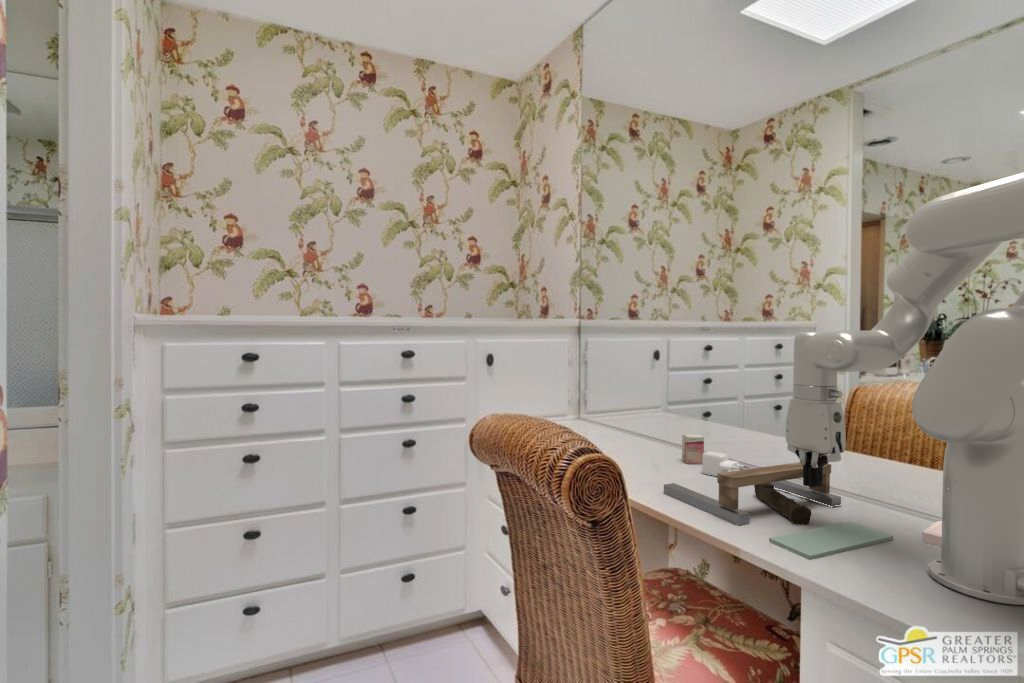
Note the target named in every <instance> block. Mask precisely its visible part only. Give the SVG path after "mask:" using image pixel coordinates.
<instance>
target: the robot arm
mask: <svg viewBox="0 0 1024 683" xmlns="http://www.w3.org/2000/svg"><path fill="white" fill-rule="evenodd" d="M905 232H906V239H907V242H908V243H909V244H910V245H911V247H912V249H910V251H909V252H908V253H907V254H906V256H904V258H903V259H901V261H900V262H899V263H898V264H897V265H896V267H894V268H893V270H892V271H891V272H890V273H889V274H888V275H887V277H886V284H887V287H888V289H889V290H890V292H892V293H893V301H892V304H891V307H890V309H889V310H888V311H887V313H886V314H885V315H884V316H883V317H882V318H881V319H880V320H879V322H877V323H876V324H875V325H874V326H873V327H872V328H871V329H870V330H840V331H800V332H798V333H796V334H795V336H794V339H793V340H794V341H793V370H792V371H793V373H792V376H793V379H792V382H793V384H792V398H790V401H789V404H788V406H787V407H788V408H787V413H786V420H785V422H786V423H785V442H786V444H787V450H788V451H789V452H791V453H793V454H795V455H796V456H797V457H798V460H799V462H800V463H801V464H802V465H803V478H802V480H803V482H802V483H803V484H802V485H803V486H807V487H811V488H813V487H819V486H821V485H822V471H823V467H825V466H826V464H827V463H828V464H830V463H836V462H841V461H842V455H841V454H843V453H844V452H846V447H847V446H846V445H847V438H846V423H845V415H844V410H843V407H842V403H841V402H838V399H840V398H842V396H843V392H842V391H841V390H838V372H843V373H844V372H845V373H851V372H871V371H872V372H874V371H882V370H885V369H888V368H889V367H892V366H893V365H895V364H896V363H897V362H898V361H900V360H901V359H902V358H903V357H904V356H906V354H907V353H909V351H911V350H912V348H914V347H915V346H916V345H917V344H918V343H919V342H920V340H922V338H923V337H924V336H925V335H926V333H927V331H928V330H929V328H930V325H931V323H932V322H933V320H934V318H935V314H936V310H937V308H938V306H939V305H940V304H941V303H942V302H943V301H944V300H945V299H946V298H947V297H948V296H949V295H950V294H952V293H953V291H954V290H955V289H956V288H957V287H958V286H959V285H960V284H961V283H962V282H963V281H964V280H965V279H966V278H968V276H969V275H970V274H971V273H972V272H974V271H975V270H976V269H977V268H978V267H979V266H980V265H981V264H982V263H983V262H984V261H985V260H986V259H987V258H988V257H989V256H990V255H991V254H992V253H994V251H995V250H996V249H997V248H999V246H1001V244H1002V243H1003V242H1008V241H1015V240H1019V239H1024V171H1023V172H1018V173H1015V174H1013V175H1008V176H1005V177H1001V178H998V179H995V180H992V181H988V182H985V183H982V184H978V185H973V186H971V187H968V188H964V189H960V190H957V191H953V192H950V193H947V194H944V195H941V196H938V197H936V198H934V199H931V200H929V201H927V202H926V203H924V204H922V205H921V206H920V207H919V208H917V209H916V211H915V212H914V213H913V214H912V215H911V216H910V218H909V220H908V223H907V225H906V231H905ZM1023 381H1024V290H1023V292H1022V293H1021V294H1020V295H1019V296H1018V298H1017V299H1016V300H1015V302H1014V303H1012V305H1011V306H1010V307H999V308H991V309H987V310H985V311H980V312H979V313H976V314H974V315H973V316H971V317H969V318H967V320H965V321H964V322H963V323H962V324H960V325H959V326H958V327H957V328H956V330H955V331H954V332H953V333H952V335H951V336H950V337H949V339H948V340H947V341H946V343H945V345H944V346H943V348H942V349H941V351H940V352H939V354H938V355H937V357H936V358H935V360H934V362H933V363H932V364H931V366H930V367H929V369H928V371H927V372H926V374H925V375H924V377H922V380H921V381H920V383H919V385H918V386H917V388H916V390H915V391H914V394H913V398H912V400H911V401H912V402H911V413H912V417H913V419H914V422H915V423H916V425H917V426H918V428H919V430H921V431H922V432H923V433H924V434H926V435H928V436H929V437H931V438H933V439H936V440H937V441H940V442H941V441H942V442H944V443H946V447H945V449H944V454H943V455H944V456H943V469H942V470H943V472H942V494H941V495H942V496H941V498H942V499H941V500H942V501H941V502H942V503H941V521H942V537H941V546H940V548H941V550H940V559H934V560H930V562H928V565H927V572H928V574H929V576H930V577H931V578H933V579H934V580H935V581H937V583H940V584H941V585H943V586H945V587H947V588H949V589H952V590H953V591H955V592H956V591H957V592H959V593H962V594H964V595H967V596H971V597H973V598H977V599H980V600H985V601H989V602H994V603H998V604H1007V605H1015V606H1016V605H1017V606H1024V385H1023V384H1022V383H1023Z"/></svg>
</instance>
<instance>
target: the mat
mask: <svg viewBox="0 0 1024 683" xmlns="http://www.w3.org/2000/svg"><path fill="white" fill-rule="evenodd" d="M891 540H894V535H891V534H889V533H886V532H883V531H879V530H876V529H874V528H870V527H868V526H864V525H862V524H858V523H856V522H853V521H845V522H841V523H835V524H832V525H831V524H830V525H826V526H821V527H817V528H812V529H811V528H810V529H807V530H802V531H798V532H792V533H787V534H782V535H778V536H773V537H769V538H768V541H770V543H771V542H772V544H774V545H776V546H778V547H781V548H783V549H785V548H786V550H787V549H788V551H789V552H792V551H793V552H792V553H794V552H795V553H794V554H796V553H798V554H797V555H799V554H800V555H799V556H801V555H802V556H801V557H803V556H805V557H804V558H806V557H807V558H806V559H808V558H809V559H808V560H813V559H812V558H814V559H816V557H818V558H821V557H820V556H822V557H826V556H830V555H834V554H838V553H842V552H846V551H851V550H855V549H858V548H863V547H866V546H867V547H868V546H871V545H876V544H879V543H884V542H887V541H891ZM825 555H826V556H825Z"/></svg>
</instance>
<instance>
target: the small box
mask: <svg viewBox="0 0 1024 683" xmlns="http://www.w3.org/2000/svg"><path fill="white" fill-rule="evenodd" d="M681 439H682V441H681V443H682V444H681V461H682V460H683V461H682V462H683V463H685V464H687V465H702V458H703V453H704V452H705V437H704V436H702V435H700V434H698V433H697V434H695V433H693V434H691V433H687V434H686V433H685V434H684V433H683V434H682V437H681Z"/></svg>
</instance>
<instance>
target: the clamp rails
mask: <svg viewBox="0 0 1024 683" xmlns="http://www.w3.org/2000/svg"><path fill="white" fill-rule="evenodd" d="M770 484H772V485H774V487H775V488H778V489H782V490H785V491H788V492H791V493H794V494H797V495H800V496H803V497H806V498H808V499H812V500H815V501H818V502H821V503H824V504H827V505H830V506H835V505H840V504H841V505H842V496H841V495H840V496H839V495H837V494H833V493H829V494H824V493H821V492H818V491H814V490H811V489H809V487H808V486H804V485H803V484H800V483H797V482H793V481H790V480H784V481H777V482H771V483H770ZM663 494H665V495H667V496H669V497H671V498H674V499H676V500H678V501H681V502H683V503H686V504H688V505H690V506H693V507H695V508H697V509H700V510H702V511H704V512H706V513H708V514H710V515H713V516H716V517H718V518H720V519H723V520H725V521H727V522H730V523H731V524H734V525H736V526H742V525H749V524H750V518H751V516H750V515H751V514H750V513H749V512H747V511H745V510H742V509H740V508H738V509H736V510H733V509H730V508H728V507H725V506H723V505H720V504H719V499H718V500H717V499H715V498H712V497H710V496H708V495H705V494H702V493H700V492H698V491H694V490H692V489H691V488H687V487H685V486H683V485H680V484H676V483H675V482H674V483H665V484H663Z"/></svg>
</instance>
